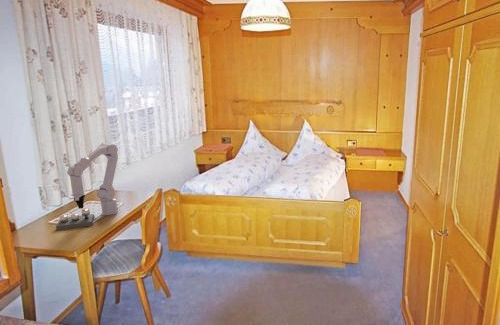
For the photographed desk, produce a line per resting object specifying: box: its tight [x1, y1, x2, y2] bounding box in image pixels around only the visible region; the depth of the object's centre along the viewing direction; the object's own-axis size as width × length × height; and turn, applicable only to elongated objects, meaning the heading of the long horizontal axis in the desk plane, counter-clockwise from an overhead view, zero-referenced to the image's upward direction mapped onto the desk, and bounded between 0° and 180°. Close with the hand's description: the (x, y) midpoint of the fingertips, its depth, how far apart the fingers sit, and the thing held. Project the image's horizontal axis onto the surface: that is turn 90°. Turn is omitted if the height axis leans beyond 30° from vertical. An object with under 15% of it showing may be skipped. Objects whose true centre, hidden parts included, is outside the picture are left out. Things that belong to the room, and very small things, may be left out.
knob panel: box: [55, 213, 95, 231], centre depth 221 cm, size 19×12×2 cm, turn 105°
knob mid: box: [70, 212, 80, 221], centre depth 221 cm, size 4×4×6 cm
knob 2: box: [80, 207, 91, 219], centre depth 222 cm, size 4×4×6 cm
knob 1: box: [59, 214, 69, 222], centre depth 219 cm, size 4×4×6 cm
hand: (81, 208), depth 220 cm, fingers closed
